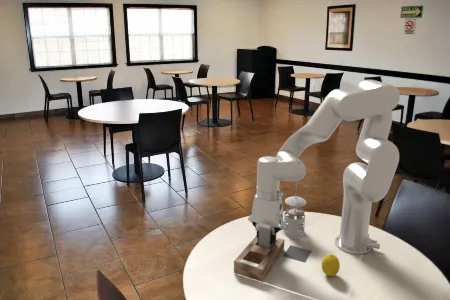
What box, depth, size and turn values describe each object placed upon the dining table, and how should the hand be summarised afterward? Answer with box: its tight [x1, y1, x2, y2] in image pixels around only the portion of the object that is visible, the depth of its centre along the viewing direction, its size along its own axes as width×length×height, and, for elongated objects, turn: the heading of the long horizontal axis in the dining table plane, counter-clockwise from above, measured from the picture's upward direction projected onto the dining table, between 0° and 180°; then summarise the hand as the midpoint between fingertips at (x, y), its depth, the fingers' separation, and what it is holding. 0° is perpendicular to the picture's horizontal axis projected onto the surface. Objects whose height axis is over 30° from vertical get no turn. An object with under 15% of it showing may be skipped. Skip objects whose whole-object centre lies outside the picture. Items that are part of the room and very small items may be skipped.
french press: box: [281, 181, 307, 240], centre depth 145 cm, size 10×12×25 cm
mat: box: [282, 244, 313, 263], centre depth 134 cm, size 8×8×1 cm
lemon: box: [321, 253, 341, 277], centre depth 121 cm, size 6×6×8 cm
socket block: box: [233, 234, 286, 283], centre depth 130 cm, size 10×20×5 cm, turn 152°
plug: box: [258, 222, 273, 249], centre depth 132 cm, size 4×4×12 cm
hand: (266, 240), depth 133 cm, fingers closed on plug, 4 cm apart
